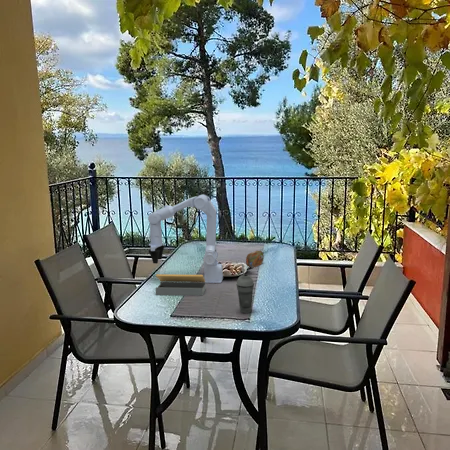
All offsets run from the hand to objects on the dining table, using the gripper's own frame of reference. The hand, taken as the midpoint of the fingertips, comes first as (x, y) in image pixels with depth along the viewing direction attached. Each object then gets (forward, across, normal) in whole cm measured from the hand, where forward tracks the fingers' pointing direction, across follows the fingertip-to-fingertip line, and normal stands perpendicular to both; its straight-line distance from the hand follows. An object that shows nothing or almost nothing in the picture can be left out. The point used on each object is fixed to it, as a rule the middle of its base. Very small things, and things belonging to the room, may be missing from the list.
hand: (157, 261), depth 219 cm
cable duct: (+10, +18, +16) cm, 26 cm away
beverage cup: (+10, +39, +48) cm, 63 cm away
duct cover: (+4, +17, +16) cm, 23 cm away
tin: (+10, -29, +48) cm, 57 cm away
